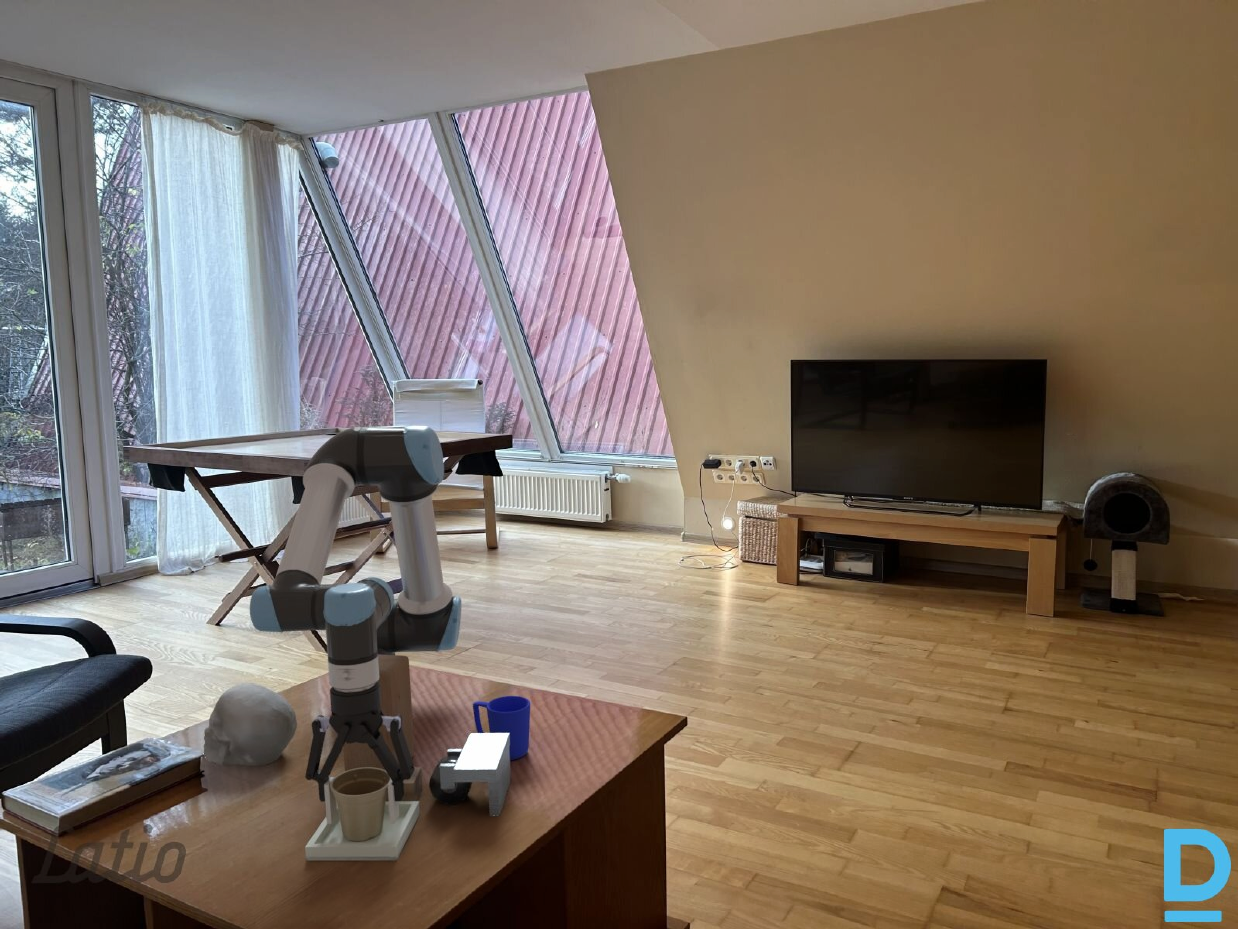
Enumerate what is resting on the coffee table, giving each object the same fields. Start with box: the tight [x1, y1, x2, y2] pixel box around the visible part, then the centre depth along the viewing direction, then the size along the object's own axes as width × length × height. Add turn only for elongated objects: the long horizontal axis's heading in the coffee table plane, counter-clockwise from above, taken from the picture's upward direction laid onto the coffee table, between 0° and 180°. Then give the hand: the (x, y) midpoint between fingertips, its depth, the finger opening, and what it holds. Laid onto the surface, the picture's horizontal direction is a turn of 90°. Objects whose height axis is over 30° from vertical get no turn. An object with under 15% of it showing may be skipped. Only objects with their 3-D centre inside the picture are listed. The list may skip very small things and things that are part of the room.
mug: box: [472, 695, 531, 761], centre depth 177 cm, size 8×12×10 cm
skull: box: [203, 682, 298, 767], centre depth 178 cm, size 13×18×15 cm
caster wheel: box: [428, 732, 512, 817], centre depth 159 cm, size 14×12×9 cm
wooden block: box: [342, 654, 415, 772], centre depth 172 cm, size 10×10×20 cm
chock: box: [386, 766, 424, 801], centre depth 160 cm, size 6×5×4 cm
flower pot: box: [330, 767, 391, 841], centre depth 148 cm, size 9×9×9 cm
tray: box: [304, 800, 421, 862], centre depth 149 cm, size 14×14×2 cm
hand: (363, 819), depth 148 cm, fingers closed on flower pot, 9 cm apart
